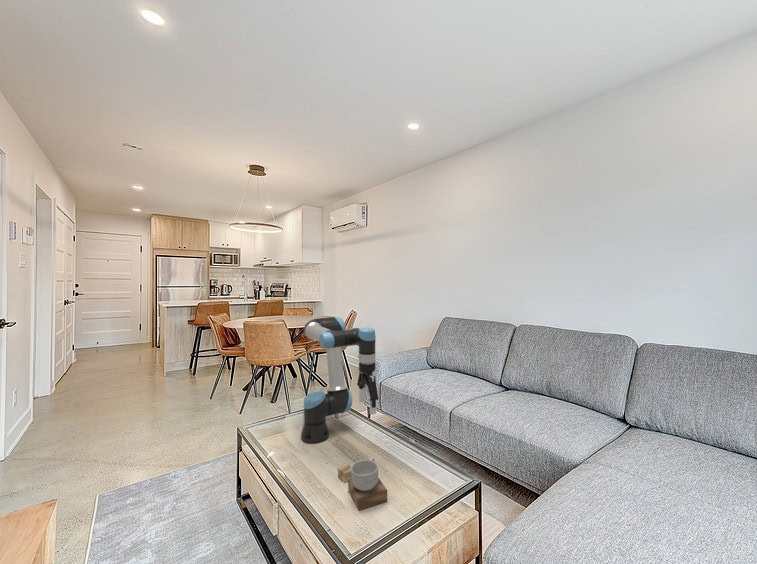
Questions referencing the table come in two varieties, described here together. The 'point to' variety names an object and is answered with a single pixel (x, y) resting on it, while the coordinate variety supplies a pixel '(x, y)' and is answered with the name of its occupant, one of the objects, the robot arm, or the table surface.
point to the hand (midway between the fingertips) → (367, 407)
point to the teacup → (364, 474)
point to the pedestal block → (368, 495)
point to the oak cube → (344, 473)
